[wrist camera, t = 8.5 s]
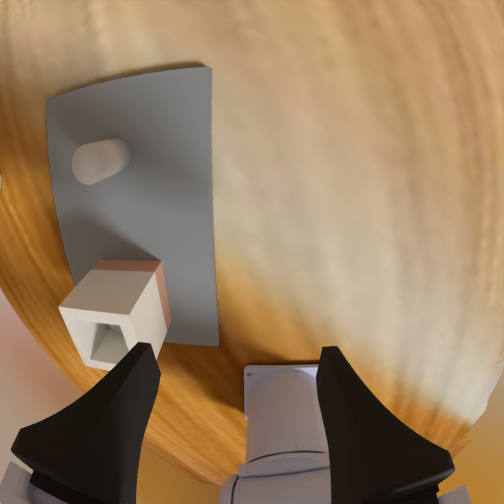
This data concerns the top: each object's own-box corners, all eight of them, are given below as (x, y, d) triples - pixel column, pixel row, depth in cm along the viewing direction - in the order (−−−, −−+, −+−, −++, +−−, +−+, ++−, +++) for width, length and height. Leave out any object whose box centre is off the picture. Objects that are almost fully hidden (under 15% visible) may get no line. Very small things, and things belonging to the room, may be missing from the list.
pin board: (219, 338, 23) (213, 379, 19) (95, 325, 23) (75, 358, 19) (211, 69, 14) (196, 52, 10) (54, 99, 14) (13, 101, 10)
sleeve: (172, 318, 21) (150, 377, 15) (115, 314, 21) (85, 365, 15) (161, 260, 19) (129, 314, 13) (100, 259, 19) (58, 306, 13)
